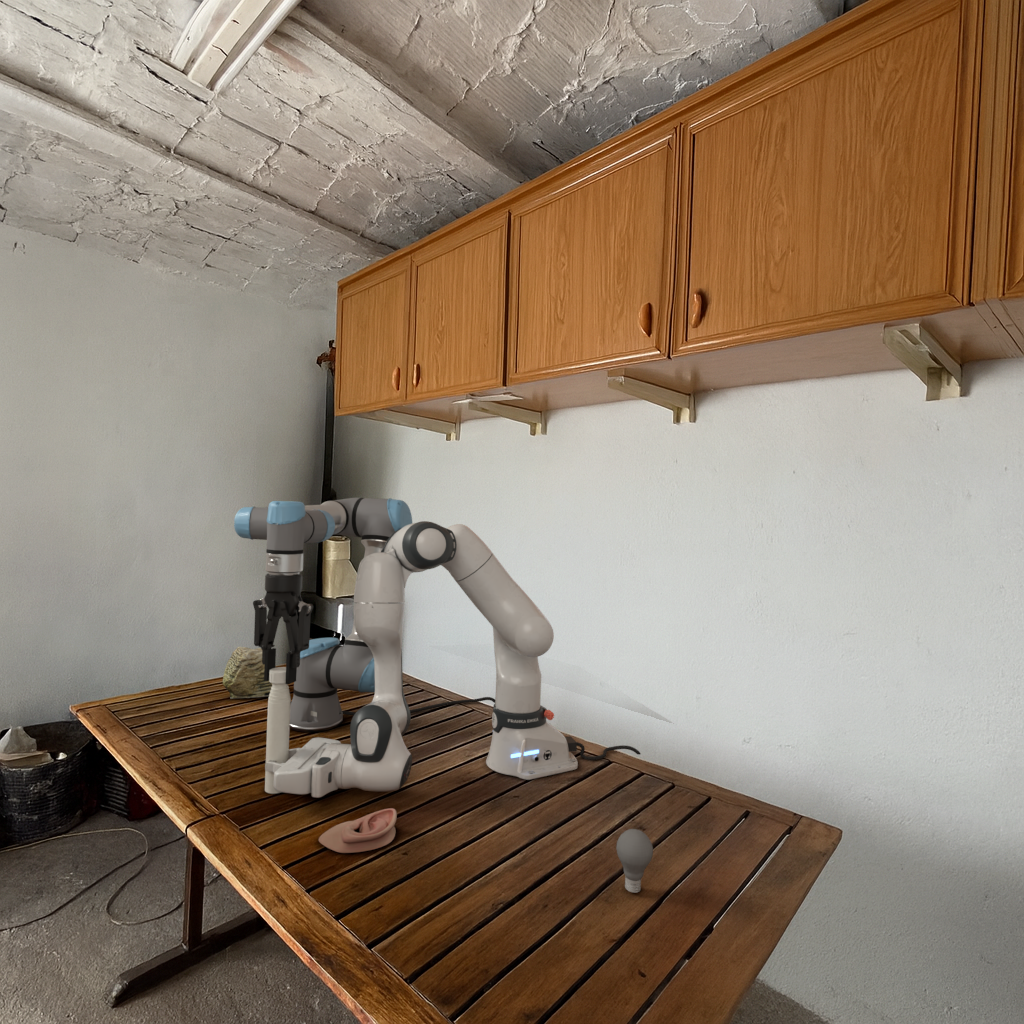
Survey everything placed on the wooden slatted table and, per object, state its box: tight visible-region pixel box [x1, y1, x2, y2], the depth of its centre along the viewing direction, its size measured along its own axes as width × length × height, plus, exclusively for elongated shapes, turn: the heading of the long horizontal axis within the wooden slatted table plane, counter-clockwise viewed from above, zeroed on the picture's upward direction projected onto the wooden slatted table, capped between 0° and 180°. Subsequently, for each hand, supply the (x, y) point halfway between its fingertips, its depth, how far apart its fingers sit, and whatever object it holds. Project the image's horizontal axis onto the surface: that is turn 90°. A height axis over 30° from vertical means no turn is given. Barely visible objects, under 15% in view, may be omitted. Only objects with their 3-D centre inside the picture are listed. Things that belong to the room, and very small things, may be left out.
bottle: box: [264, 683, 292, 795], centre depth 136 cm, size 5×5×25 cm
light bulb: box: [615, 828, 654, 894], centre depth 106 cm, size 6×6×10 cm
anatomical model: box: [318, 807, 398, 854], centre depth 118 cm, size 13×4×12 cm
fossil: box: [222, 646, 277, 699], centre depth 198 cm, size 9×18×15 cm, turn 132°
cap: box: [269, 666, 286, 684], centre depth 136 cm, size 4×4×2 cm
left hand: (280, 680), depth 136 cm, fingers open, 5 cm apart
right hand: (273, 759), depth 136 cm, fingers closed on bottle, 4 cm apart
